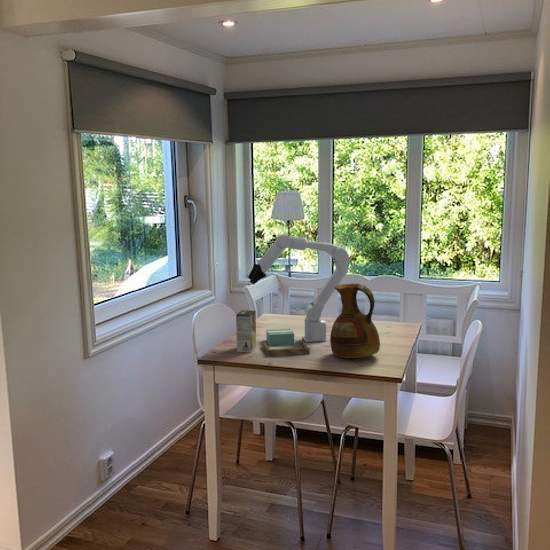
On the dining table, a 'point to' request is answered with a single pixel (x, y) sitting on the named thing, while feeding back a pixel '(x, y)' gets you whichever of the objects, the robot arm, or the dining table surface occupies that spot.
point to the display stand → (287, 350)
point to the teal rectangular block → (280, 336)
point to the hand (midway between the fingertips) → (250, 281)
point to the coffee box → (246, 331)
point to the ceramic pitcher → (354, 325)
